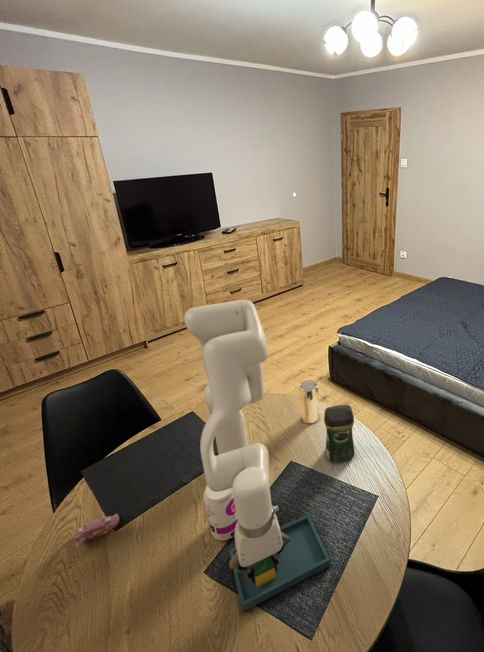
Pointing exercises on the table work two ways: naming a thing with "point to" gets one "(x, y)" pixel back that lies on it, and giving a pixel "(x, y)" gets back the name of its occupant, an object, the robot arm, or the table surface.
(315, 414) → the silver metal cylinder
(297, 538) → the tray
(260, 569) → the sponge
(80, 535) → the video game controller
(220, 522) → the supplement can
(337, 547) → the table surface
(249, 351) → the robot arm
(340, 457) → the coffee jar
